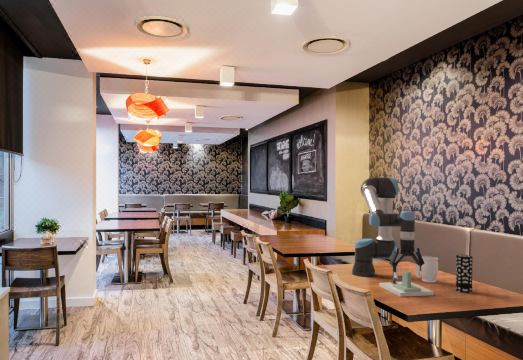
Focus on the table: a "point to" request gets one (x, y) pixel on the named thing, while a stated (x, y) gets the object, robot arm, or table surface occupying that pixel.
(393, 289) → the lock base
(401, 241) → the robot arm
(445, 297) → the table surface
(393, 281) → the grey angled block piece
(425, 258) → the jar
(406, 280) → the cover
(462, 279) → the white-spotted black cylinder
